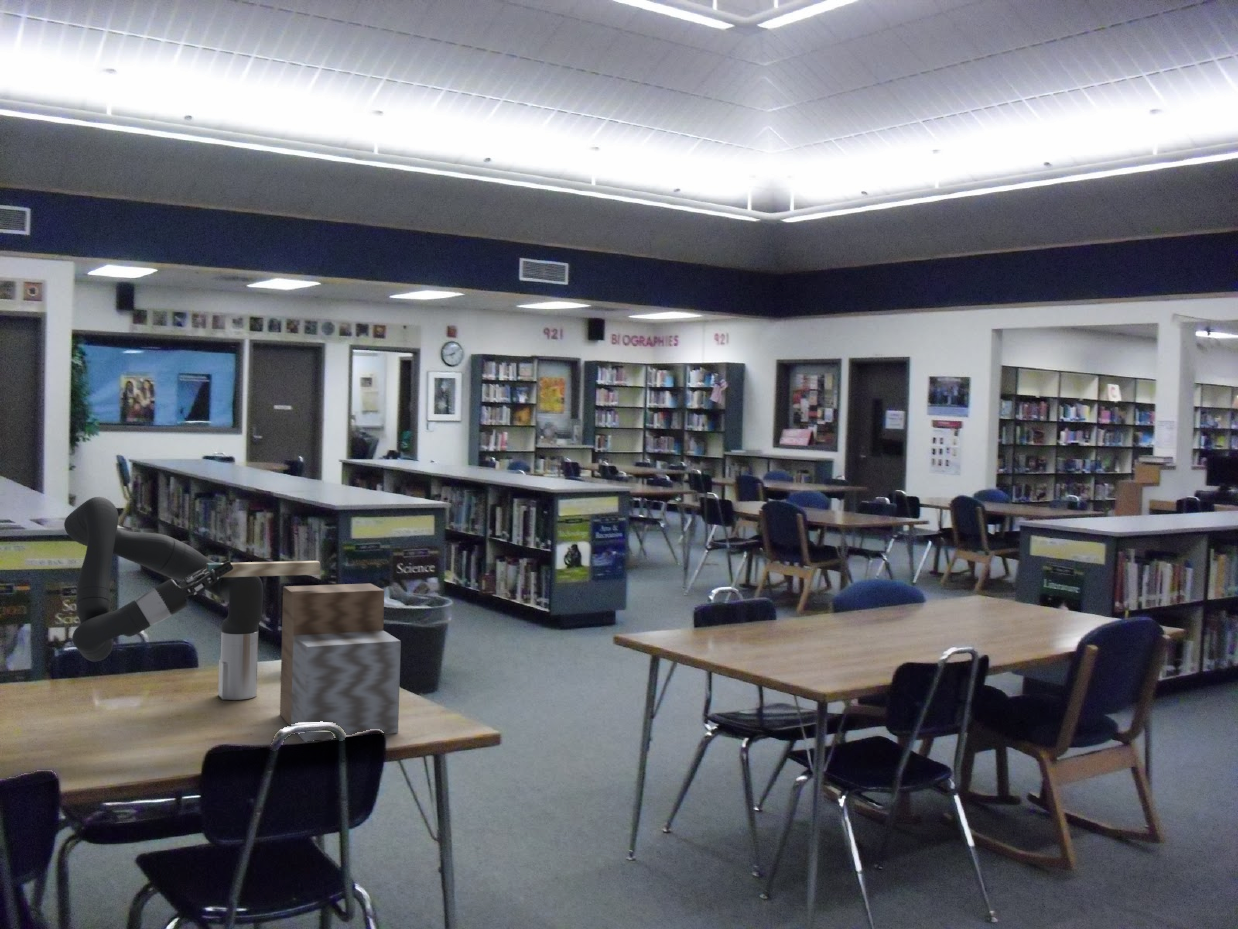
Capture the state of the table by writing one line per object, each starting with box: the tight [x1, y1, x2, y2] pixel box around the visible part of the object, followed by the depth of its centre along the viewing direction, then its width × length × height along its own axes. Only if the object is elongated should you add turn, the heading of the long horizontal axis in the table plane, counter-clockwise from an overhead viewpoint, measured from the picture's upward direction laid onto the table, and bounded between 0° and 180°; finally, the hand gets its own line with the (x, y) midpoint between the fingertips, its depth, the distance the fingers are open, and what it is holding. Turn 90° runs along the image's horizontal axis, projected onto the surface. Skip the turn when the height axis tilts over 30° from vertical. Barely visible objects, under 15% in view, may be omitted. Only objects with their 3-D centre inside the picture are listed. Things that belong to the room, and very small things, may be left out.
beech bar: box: [206, 560, 321, 578], centre depth 275 cm, size 26×3×3 cm, turn 119°
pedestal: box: [279, 582, 402, 743], centre depth 278 cm, size 22×26×32 cm
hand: (229, 563), depth 271 cm, fingers closed on beech bar, 3 cm apart
